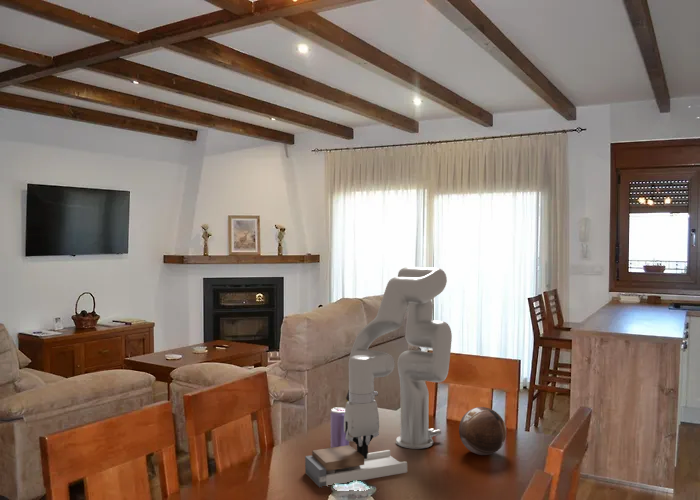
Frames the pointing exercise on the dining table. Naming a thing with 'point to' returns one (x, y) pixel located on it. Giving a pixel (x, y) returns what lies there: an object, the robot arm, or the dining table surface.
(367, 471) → the track
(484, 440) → the wooden sphere
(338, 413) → the beverage can
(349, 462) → the slab
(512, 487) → the dining table surface
